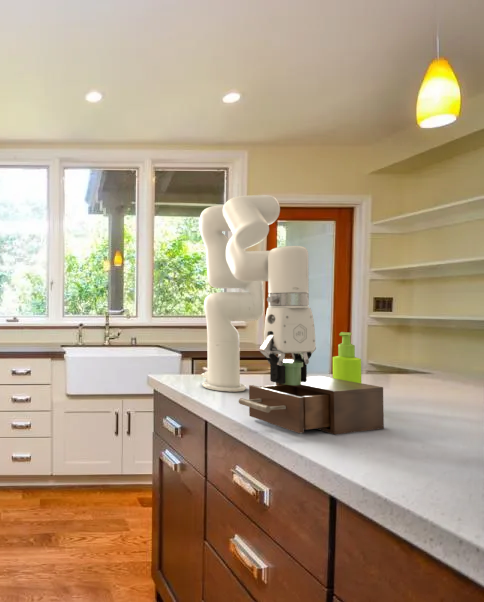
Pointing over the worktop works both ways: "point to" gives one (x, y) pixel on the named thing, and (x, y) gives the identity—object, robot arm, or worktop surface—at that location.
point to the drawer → (289, 407)
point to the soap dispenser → (346, 361)
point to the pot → (292, 372)
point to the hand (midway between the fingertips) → (288, 381)
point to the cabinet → (349, 404)
